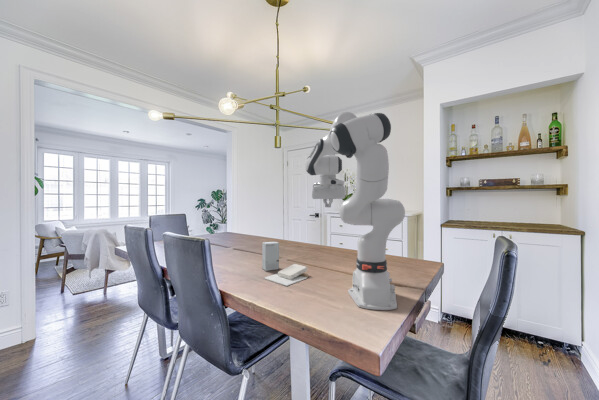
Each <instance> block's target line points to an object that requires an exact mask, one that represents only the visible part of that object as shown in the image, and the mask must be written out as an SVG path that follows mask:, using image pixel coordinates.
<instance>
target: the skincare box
mask: <svg viewBox="0 0 599 400" xmlns="http://www.w3.org/2000/svg"><path fill="white" fill-rule="evenodd" d="M261 245H262V247H261V249H262V251H261V256H262V257H261V267H262V268H261V269H262V270H263V271H265V272H268V271H274V270H275V271H276V270H279V269H280V242H277V241H263V242H261Z"/></svg>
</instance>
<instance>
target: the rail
mask: <svg viewBox="0 0 599 400" xmlns="http://www.w3.org/2000/svg"><path fill="white" fill-rule="evenodd" d="M299 276H303V277H306V278H308V277H309V274H308V273H306V272H304V273H302V274H300V275H299Z"/></svg>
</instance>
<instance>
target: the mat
mask: <svg viewBox="0 0 599 400" xmlns="http://www.w3.org/2000/svg"><path fill="white" fill-rule="evenodd" d="M307 278H308V277H307ZM307 278H306V277H303V276H297V277H295V278H293V279H291V280H290V279H286V278H283V277H280V276H278V272H276V273H275V274H272V275H268V276H264V277H263V280H267V281H269V282H273V283H276V284H278V285H282V286H285V287H288V286H291V285H294V284H297V283H299V282H302V281H304V280H307Z"/></svg>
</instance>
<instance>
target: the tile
mask: <svg viewBox="0 0 599 400" xmlns="http://www.w3.org/2000/svg"><path fill="white" fill-rule="evenodd" d="M307 271H308V267H307V266H304V265H301V264H297V263H293V264H291V265H289V266H287V267H285V268H283V269H281V270H279V271H277V273H278V276H280V277H283V278H286V279H290V280H291V279H293V278H295V277H297V276H299V275H300V274H302V273H306V272H307Z"/></svg>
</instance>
